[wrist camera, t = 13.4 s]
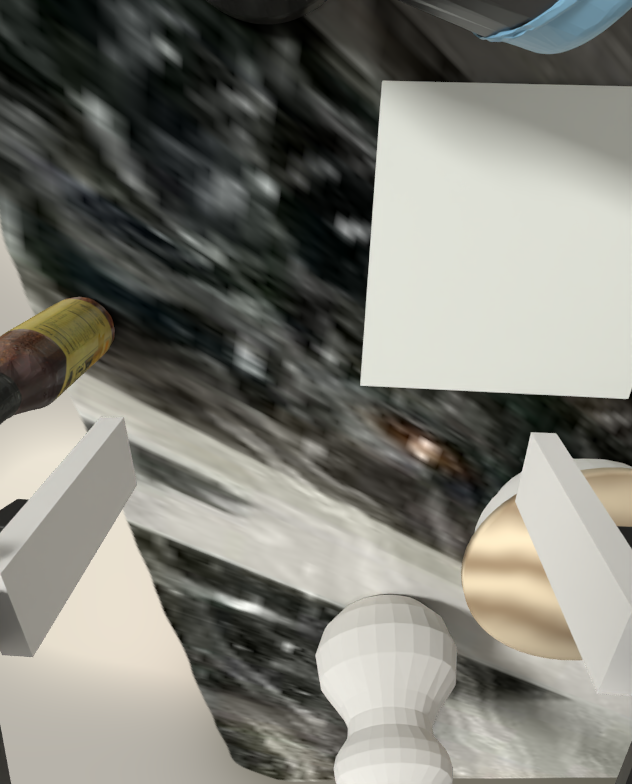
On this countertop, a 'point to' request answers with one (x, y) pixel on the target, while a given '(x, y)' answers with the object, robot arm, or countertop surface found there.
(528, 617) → the lid
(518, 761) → the countertop surface
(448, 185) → the mat
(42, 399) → the sauce bottle
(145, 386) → the countertop surface
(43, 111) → the countertop surface
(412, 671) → the soap bottle
